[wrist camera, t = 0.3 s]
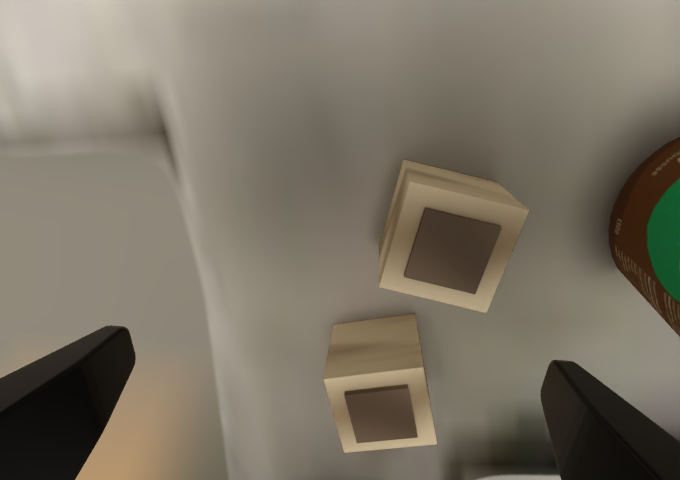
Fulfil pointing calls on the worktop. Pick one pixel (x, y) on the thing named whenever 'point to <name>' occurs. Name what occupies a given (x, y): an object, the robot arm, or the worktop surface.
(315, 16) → the worktop surface
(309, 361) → the worktop surface
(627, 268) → the food container
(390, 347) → the number block
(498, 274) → the number block
